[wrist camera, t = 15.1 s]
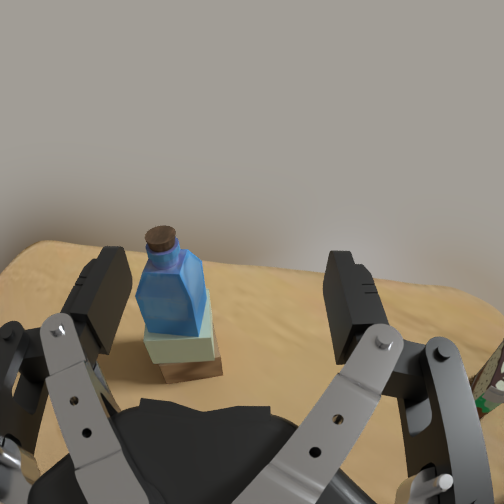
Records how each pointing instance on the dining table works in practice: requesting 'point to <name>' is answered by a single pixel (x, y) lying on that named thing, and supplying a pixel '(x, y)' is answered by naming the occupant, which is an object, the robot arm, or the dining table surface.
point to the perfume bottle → (171, 286)
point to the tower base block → (193, 368)
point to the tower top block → (183, 343)
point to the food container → (490, 383)
